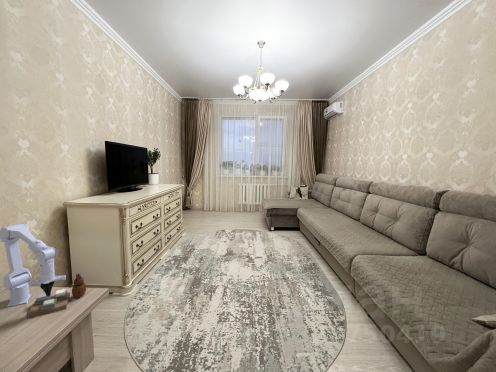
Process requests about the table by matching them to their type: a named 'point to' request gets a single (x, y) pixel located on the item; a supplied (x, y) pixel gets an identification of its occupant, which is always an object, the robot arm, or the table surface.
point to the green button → (49, 302)
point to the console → (58, 305)
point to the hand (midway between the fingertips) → (48, 295)
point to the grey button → (42, 297)
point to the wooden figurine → (78, 287)
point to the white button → (60, 292)
